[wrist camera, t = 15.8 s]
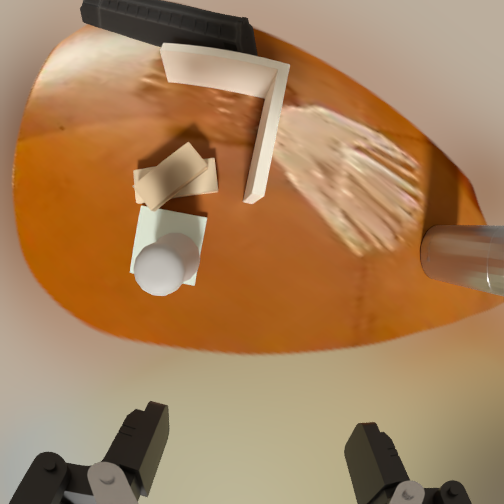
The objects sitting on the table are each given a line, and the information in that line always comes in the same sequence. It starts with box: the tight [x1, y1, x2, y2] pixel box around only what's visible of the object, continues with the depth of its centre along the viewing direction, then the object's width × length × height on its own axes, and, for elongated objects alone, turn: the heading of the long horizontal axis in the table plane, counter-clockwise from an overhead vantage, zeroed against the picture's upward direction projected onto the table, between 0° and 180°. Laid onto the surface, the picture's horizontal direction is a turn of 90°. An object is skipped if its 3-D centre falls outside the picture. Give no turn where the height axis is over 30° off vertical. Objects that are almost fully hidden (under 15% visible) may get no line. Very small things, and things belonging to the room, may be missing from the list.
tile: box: [130, 206, 207, 286], centre depth 33 cm, size 8×8×1 cm
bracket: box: [160, 43, 290, 204], centre depth 29 cm, size 15×16×8 cm
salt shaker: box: [133, 233, 200, 296], centre depth 27 cm, size 6×6×13 cm
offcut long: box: [134, 158, 218, 204], centre depth 33 cm, size 10×4×2 cm, turn 97°
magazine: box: [80, 0, 257, 56], centre depth 26 cm, size 17×3×30 cm
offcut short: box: [133, 142, 208, 212], centre depth 30 cm, size 8×4×2 cm, turn 128°
